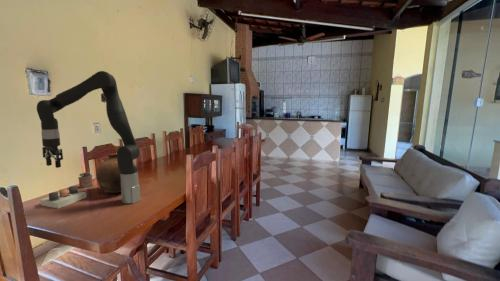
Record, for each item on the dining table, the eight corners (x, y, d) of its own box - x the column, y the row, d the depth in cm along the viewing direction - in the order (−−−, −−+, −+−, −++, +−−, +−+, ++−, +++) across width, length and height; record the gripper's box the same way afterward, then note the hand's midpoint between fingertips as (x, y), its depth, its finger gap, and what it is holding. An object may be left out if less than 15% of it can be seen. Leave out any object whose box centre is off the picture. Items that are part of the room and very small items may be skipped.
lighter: (91, 184, 167) (90, 170, 165) (93, 185, 165) (92, 171, 163) (78, 188, 160) (77, 173, 158) (80, 189, 158) (79, 174, 157)
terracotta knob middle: (70, 194, 140) (69, 189, 140) (63, 197, 136) (62, 191, 136) (65, 193, 141) (64, 188, 141) (57, 196, 137) (57, 190, 137)
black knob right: (79, 191, 145) (78, 186, 145) (72, 193, 141) (72, 188, 141) (74, 190, 146) (73, 185, 146) (67, 192, 143) (67, 187, 142)
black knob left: (60, 198, 135) (59, 192, 134) (52, 200, 131) (52, 195, 131) (55, 197, 136) (54, 191, 135) (47, 199, 132) (46, 194, 132)
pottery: (121, 199, 144) (119, 158, 140) (88, 195, 148) (85, 155, 145) (145, 186, 166) (143, 151, 162) (115, 183, 170) (113, 148, 167)
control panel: (86, 197, 145) (86, 192, 145) (57, 208, 130) (57, 203, 129) (70, 194, 149) (70, 189, 148) (40, 204, 133) (40, 199, 133)
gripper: (66, 137, 131) (68, 166, 134) (51, 135, 137) (53, 163, 140) (50, 139, 125) (53, 169, 127) (35, 137, 130) (38, 166, 133)
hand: (53, 166), depth 133 cm, fingers open, 8 cm apart
